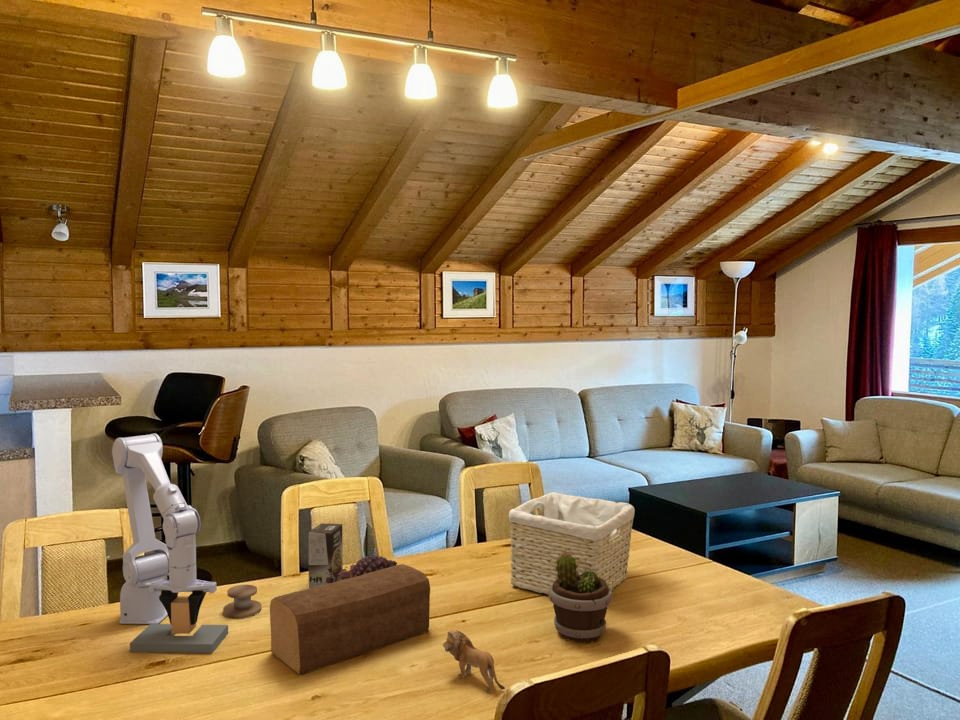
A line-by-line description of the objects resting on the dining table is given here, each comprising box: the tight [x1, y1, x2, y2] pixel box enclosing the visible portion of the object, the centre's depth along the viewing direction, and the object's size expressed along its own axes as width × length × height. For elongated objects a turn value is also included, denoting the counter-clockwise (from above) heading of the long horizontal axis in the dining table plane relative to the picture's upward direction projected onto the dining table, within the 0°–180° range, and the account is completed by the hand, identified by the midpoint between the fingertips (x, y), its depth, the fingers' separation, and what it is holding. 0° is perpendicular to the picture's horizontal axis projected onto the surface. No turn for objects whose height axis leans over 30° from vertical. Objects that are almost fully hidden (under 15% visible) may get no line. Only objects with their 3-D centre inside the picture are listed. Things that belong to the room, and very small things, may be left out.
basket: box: [508, 491, 636, 595], centre depth 208 cm, size 27×27×22 cm
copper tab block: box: [171, 595, 197, 635], centre depth 173 cm, size 4×4×7 cm
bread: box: [269, 563, 431, 675], centre depth 171 cm, size 14×34×14 cm, turn 130°
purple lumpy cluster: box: [337, 554, 398, 580], centre depth 201 cm, size 18×10×10 cm, turn 109°
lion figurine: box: [442, 629, 506, 693], centre depth 155 cm, size 15×5×9 cm, turn 54°
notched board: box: [129, 623, 229, 654], centre depth 171 cm, size 18×10×2 cm, turn 89°
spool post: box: [222, 584, 262, 619], centre depth 189 cm, size 9×9×5 cm
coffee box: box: [308, 522, 344, 589], centre depth 205 cm, size 9×6×16 cm
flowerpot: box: [548, 548, 613, 643], centre depth 177 cm, size 14×15×20 cm
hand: (183, 622), depth 173 cm, fingers closed on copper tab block, 4 cm apart
